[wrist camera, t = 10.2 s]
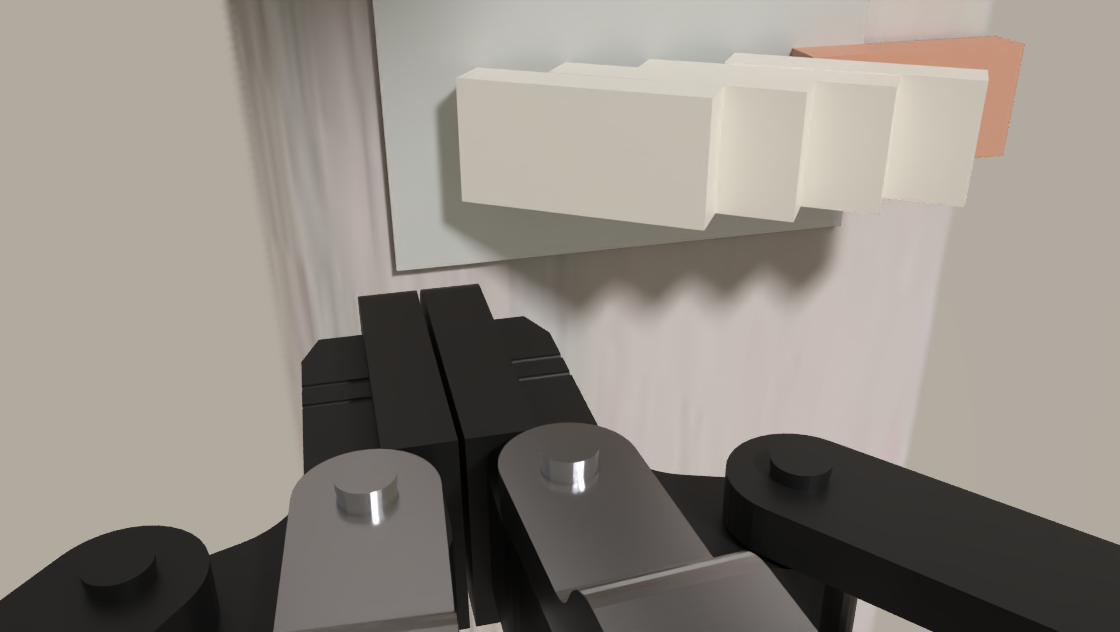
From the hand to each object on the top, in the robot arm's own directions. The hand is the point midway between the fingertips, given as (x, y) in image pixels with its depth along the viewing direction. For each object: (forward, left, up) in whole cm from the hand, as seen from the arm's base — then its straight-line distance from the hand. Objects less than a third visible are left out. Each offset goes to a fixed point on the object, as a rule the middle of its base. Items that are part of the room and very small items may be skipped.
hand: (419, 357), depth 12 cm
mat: (+5, +12, -29) cm, 32 cm away
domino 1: (+5, +5, -28) cm, 29 cm away
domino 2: (+5, +8, -28) cm, 29 cm away
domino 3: (+5, +12, -28) cm, 31 cm away
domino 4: (+5, +16, -28) cm, 32 cm away
